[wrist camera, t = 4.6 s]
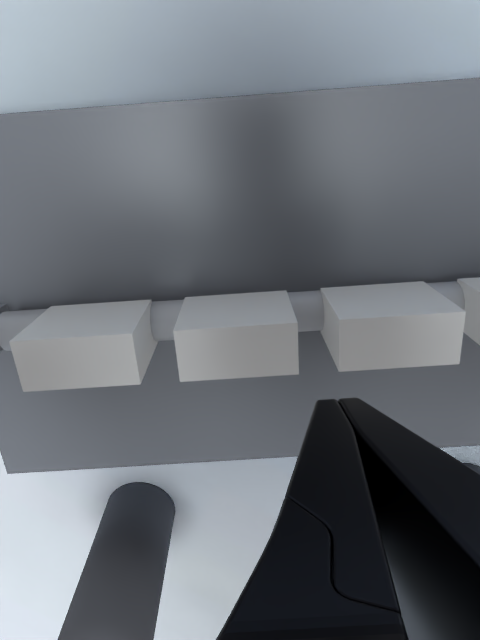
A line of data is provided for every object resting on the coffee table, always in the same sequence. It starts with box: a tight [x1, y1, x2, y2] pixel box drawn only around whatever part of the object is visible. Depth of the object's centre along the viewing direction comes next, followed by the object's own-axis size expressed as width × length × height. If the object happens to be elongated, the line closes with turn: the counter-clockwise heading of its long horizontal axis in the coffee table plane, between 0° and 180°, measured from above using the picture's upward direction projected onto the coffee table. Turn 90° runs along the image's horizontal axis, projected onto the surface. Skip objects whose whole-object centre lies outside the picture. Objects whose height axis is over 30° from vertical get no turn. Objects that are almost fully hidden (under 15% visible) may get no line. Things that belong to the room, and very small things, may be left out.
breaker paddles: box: [0, 277, 480, 392], centre depth 12 cm, size 1×18×3 cm, turn 95°
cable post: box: [58, 483, 175, 640], centre depth 17 cm, size 3×3×6 cm
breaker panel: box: [0, 78, 480, 474], centre depth 14 cm, size 12×22×4 cm, turn 94°
